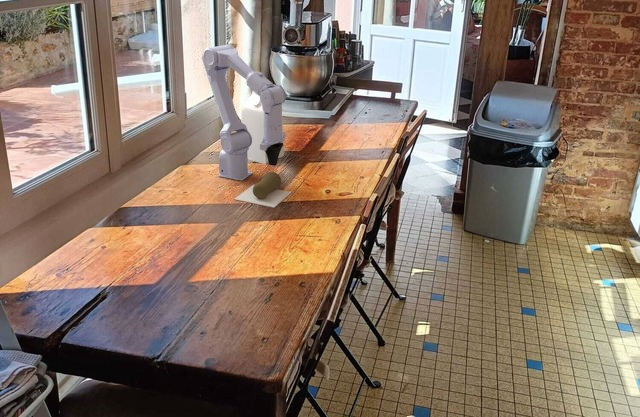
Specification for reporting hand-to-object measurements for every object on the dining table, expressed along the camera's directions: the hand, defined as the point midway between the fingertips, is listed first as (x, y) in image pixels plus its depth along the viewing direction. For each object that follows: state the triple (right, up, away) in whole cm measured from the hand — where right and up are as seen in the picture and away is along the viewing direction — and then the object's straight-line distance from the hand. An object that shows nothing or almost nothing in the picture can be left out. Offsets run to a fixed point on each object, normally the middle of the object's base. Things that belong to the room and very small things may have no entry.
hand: (272, 164), depth 201 cm
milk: (-6, +5, +31) cm, 32 cm away
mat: (-3, -10, -3) cm, 11 cm away
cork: (0, -5, +2) cm, 5 cm away
